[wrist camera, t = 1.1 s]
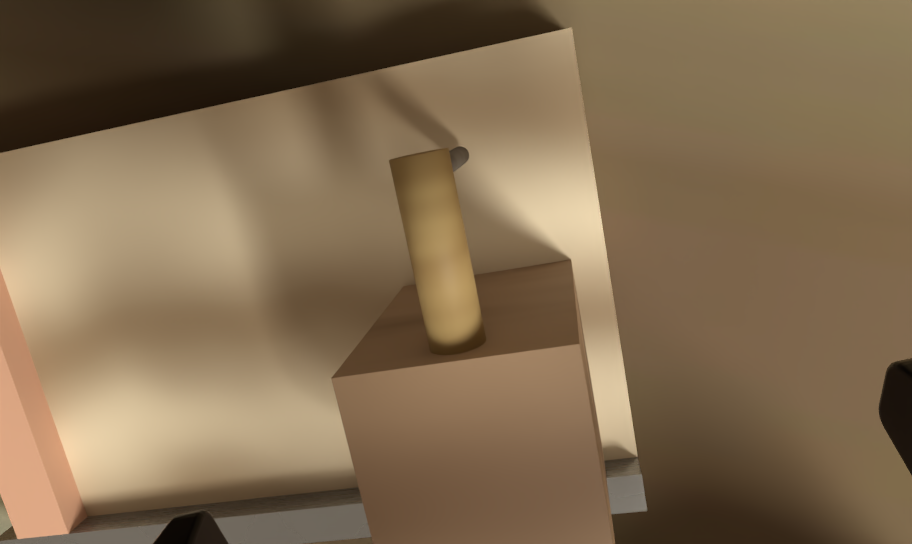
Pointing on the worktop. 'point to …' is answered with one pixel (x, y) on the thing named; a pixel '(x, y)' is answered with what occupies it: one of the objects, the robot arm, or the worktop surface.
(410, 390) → the marking gauge
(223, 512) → the guide rail
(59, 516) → the bar
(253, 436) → the maple board
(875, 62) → the worktop surface
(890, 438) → the robot arm
